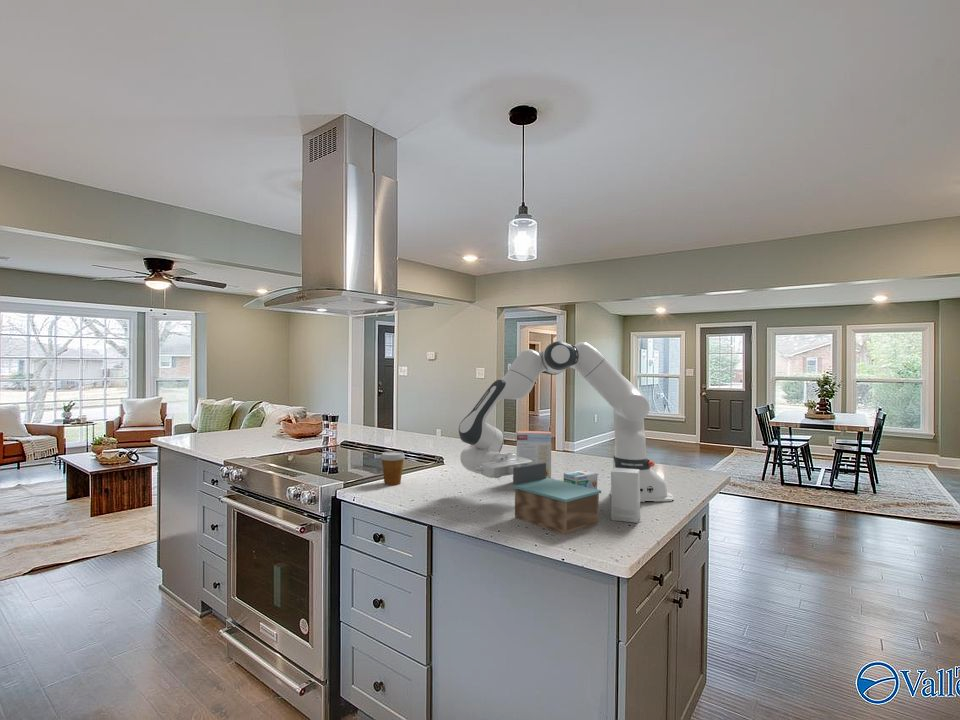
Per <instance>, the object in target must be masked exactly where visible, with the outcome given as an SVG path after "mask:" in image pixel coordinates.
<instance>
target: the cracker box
mask: <svg viewBox="0 0 960 720" xmlns="http://www.w3.org/2000/svg"><path fill="white" fill-rule="evenodd" d="M516 431H517V433H516V456H519V457H523V458H526V459H530V460H532V462H533V464H536V463H541V462H544V463H546V478H551V479H552V432H551V431H542V430H541V431H537V430H516Z"/></svg>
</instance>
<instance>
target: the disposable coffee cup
mask: <svg viewBox="0 0 960 720" xmlns="http://www.w3.org/2000/svg"><path fill="white" fill-rule="evenodd" d="M380 458H381V459H380V460H381V465H382V473H383V482H384V483H385V484H384V483H383V484H384V485H386V484H389V485H388V486H397V484H399V485H400V484H401V483H402V482H401V481H402V475H403V469H404V468H403V467H404V461H405V458H406V456H405V453H404V452H403V451H394V450H393V451H391V450H390V451H384V452H382V453H381V455H380Z"/></svg>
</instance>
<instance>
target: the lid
mask: <svg viewBox="0 0 960 720" xmlns="http://www.w3.org/2000/svg"><path fill="white" fill-rule="evenodd" d="M512 488H513V489H514V490H515V489H519V490H523V491H526V492H530V493H533V494H537V495H541V496H544V497H548V498H551V499H555V500H559V501H562V502H569V501H573V500H577V499H581V498H584V497H588V496H592V495H596V494H599V495H600V494H602V490H601V489H598V488H597V489H593V488H589V487H585V486H581V485H576V484H572V483H568V482H564V480H563V481H562V480H559V479H555V478H552V477H551V478H546V463H544V462H541V463H536V464H530V465H524V466H518V467H513V474H512Z"/></svg>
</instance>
